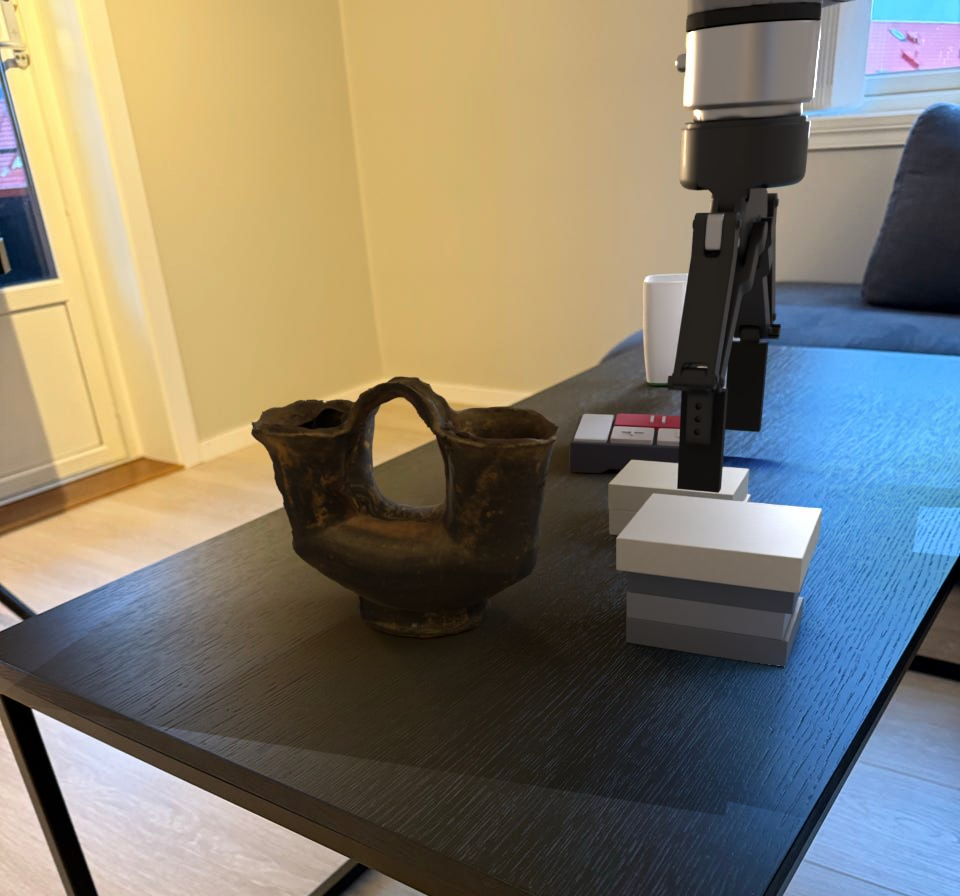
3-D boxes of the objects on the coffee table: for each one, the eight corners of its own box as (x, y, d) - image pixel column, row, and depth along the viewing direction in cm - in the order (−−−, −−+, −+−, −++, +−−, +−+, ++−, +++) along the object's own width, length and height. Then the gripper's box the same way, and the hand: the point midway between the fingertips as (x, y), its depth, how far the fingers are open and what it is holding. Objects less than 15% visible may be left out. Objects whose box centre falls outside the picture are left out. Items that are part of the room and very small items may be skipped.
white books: (749, 519, 92) (752, 468, 90) (732, 548, 86) (736, 495, 84) (630, 507, 97) (631, 459, 94) (608, 534, 91) (607, 483, 89)
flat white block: (818, 540, 71) (822, 508, 69) (799, 593, 63) (802, 558, 62) (652, 522, 76) (652, 492, 75) (615, 570, 69) (615, 537, 67)
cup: (692, 375, 142) (697, 272, 135) (691, 388, 136) (695, 280, 129) (644, 376, 144) (646, 274, 137) (640, 388, 138) (642, 282, 130)
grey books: (802, 621, 73) (811, 544, 70) (786, 668, 68) (795, 586, 64) (652, 601, 78) (654, 528, 75) (625, 642, 72) (626, 565, 69)
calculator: (705, 442, 102) (569, 435, 105) (701, 479, 104) (568, 472, 107) (705, 413, 112) (580, 408, 114) (701, 448, 114) (579, 442, 117)
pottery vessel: (262, 626, 79) (213, 393, 69) (321, 573, 88) (285, 359, 78) (545, 658, 71) (535, 400, 61) (579, 596, 80) (575, 361, 70)
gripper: (727, 113, 67) (710, 406, 77) (621, 123, 47) (616, 513, 58) (838, 106, 64) (804, 412, 74) (772, 114, 44) (739, 527, 55)
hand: (722, 457), depth 66 cm, fingers open, 13 cm apart
